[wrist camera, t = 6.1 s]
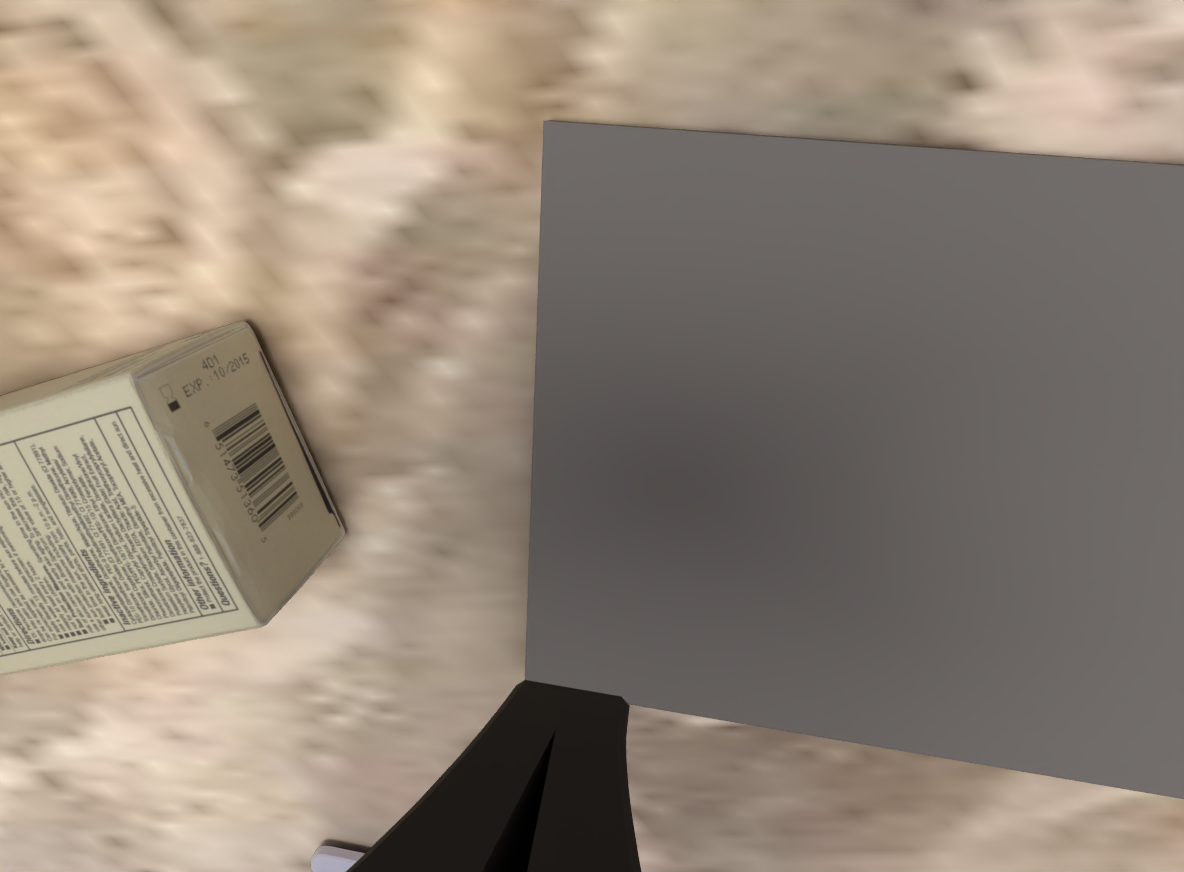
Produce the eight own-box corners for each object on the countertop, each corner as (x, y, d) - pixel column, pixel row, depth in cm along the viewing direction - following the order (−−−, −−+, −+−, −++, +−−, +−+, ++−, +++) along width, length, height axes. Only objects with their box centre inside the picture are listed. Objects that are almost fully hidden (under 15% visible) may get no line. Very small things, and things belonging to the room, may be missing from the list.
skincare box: (255, 313, 19) (-109, 415, 22) (129, 369, 15) (-292, 483, 19) (356, 544, 21) (9, 607, 25) (267, 646, 17) (-132, 705, 21)
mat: (1219, 787, 20) (1233, 807, 19) (530, 671, 22) (524, 686, 21) (1512, 187, 14) (1544, 191, 13) (550, 120, 16) (543, 120, 16)
